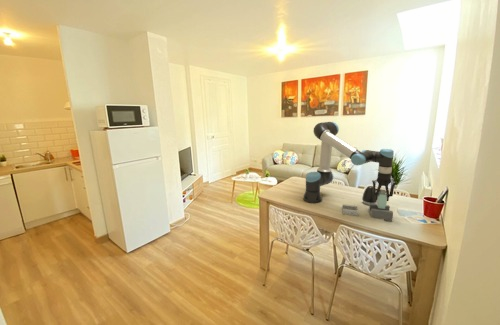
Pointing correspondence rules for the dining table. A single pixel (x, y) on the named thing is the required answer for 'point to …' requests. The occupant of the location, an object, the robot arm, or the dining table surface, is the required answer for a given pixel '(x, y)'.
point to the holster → (350, 210)
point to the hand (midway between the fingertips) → (381, 204)
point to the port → (380, 212)
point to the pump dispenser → (369, 195)
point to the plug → (382, 199)
